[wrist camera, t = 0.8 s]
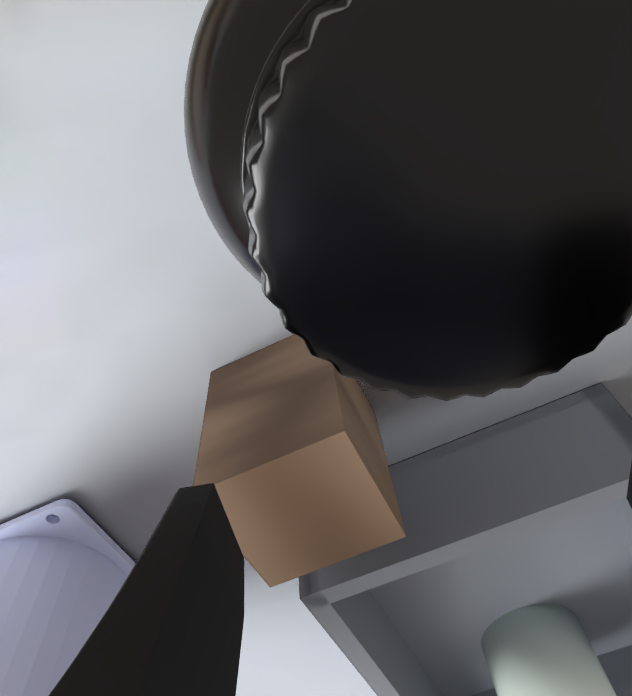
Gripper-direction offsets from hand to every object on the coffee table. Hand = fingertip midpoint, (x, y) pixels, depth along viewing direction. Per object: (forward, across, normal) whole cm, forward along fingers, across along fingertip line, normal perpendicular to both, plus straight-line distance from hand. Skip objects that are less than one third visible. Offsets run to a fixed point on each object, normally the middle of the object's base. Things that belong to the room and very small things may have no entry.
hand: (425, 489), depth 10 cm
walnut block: (+10, +3, +5) cm, 12 cm away
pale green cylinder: (+9, -5, +22) cm, 24 cm away
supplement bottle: (+11, 0, -5) cm, 12 cm away
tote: (+10, -4, +18) cm, 21 cm away
